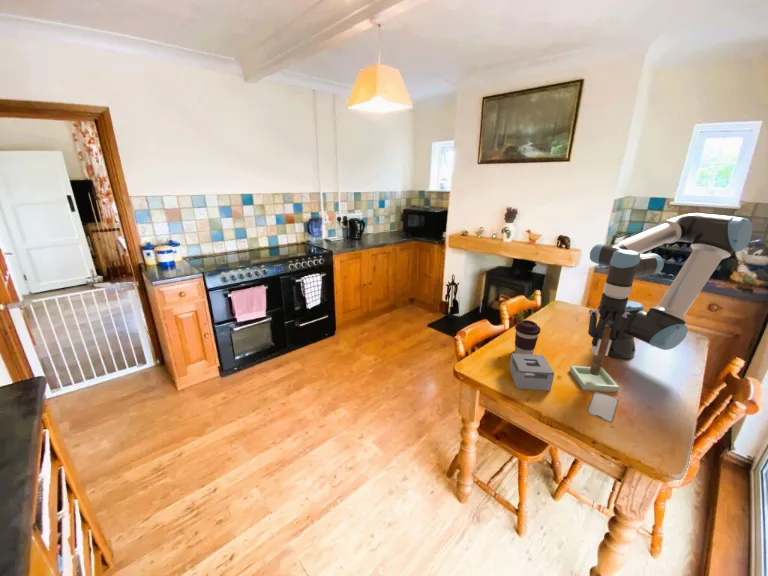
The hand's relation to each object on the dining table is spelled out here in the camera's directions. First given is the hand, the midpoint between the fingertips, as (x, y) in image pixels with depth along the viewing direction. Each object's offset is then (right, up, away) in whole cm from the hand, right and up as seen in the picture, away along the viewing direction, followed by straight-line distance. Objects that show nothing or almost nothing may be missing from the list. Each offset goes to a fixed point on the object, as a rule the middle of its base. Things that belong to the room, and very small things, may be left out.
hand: (599, 353), depth 120 cm
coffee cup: (-19, -5, +23) cm, 30 cm away
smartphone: (-5, -17, -8) cm, 19 cm away
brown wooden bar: (0, -8, +3) cm, 9 cm away
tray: (0, -11, +4) cm, 12 cm away
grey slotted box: (-24, -11, +5) cm, 27 cm away
